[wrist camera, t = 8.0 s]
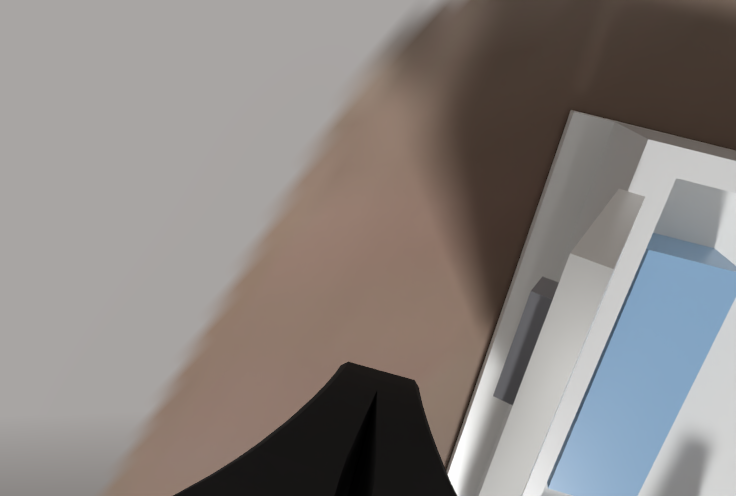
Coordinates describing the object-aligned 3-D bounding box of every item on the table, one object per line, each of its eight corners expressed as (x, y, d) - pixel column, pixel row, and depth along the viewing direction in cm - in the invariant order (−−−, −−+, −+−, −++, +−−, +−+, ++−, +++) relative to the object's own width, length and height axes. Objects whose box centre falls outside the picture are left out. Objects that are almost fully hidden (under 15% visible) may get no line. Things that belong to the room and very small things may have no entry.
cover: (614, 269, 7) (545, 244, 7) (414, 757, 10) (372, 725, 10) (645, 196, 11) (603, 183, 12) (504, 539, 15) (474, 522, 15)
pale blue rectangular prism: (714, 248, 15) (746, 274, 13) (613, 465, 17) (629, 511, 16) (627, 226, 15) (648, 249, 13) (539, 445, 18) (548, 488, 16)
